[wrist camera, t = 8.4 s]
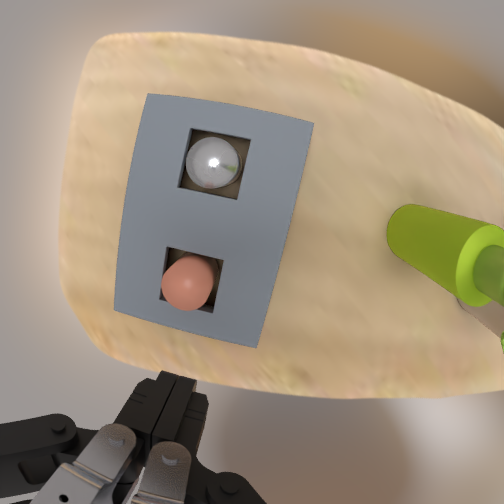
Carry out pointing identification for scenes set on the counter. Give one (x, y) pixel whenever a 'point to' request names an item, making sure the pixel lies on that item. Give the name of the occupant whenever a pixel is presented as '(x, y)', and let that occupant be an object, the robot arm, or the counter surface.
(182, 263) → the terracotta plug
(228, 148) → the steel plug
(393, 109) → the counter surface
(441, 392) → the counter surface
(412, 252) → the soap dispenser
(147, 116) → the plug board
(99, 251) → the counter surface
